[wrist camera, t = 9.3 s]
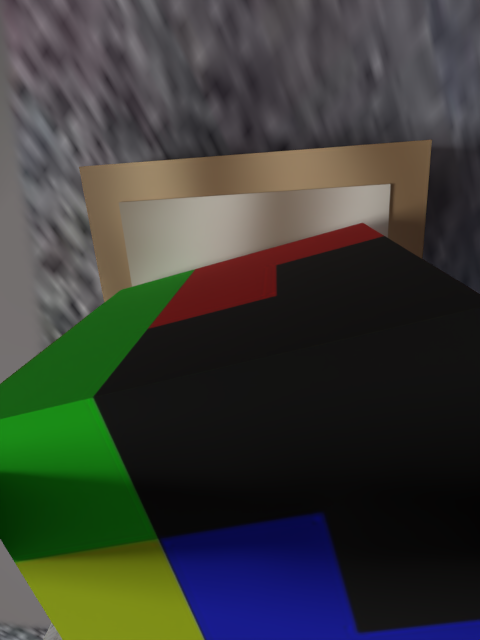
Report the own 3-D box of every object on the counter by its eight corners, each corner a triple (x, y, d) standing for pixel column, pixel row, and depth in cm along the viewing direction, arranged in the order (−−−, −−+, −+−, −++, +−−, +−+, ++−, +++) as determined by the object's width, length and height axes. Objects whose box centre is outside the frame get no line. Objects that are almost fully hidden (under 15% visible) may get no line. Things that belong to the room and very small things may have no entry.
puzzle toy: (405, 441, 19) (537, 717, 9) (196, 480, 20) (128, 747, 11) (362, 222, 16) (495, 303, 6) (120, 289, 17) (-65, 434, 8)
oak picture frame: (396, 146, 20) (433, 139, 16) (383, 397, 25) (408, 450, 20) (119, 167, 22) (76, 166, 17) (156, 402, 26) (130, 452, 22)
